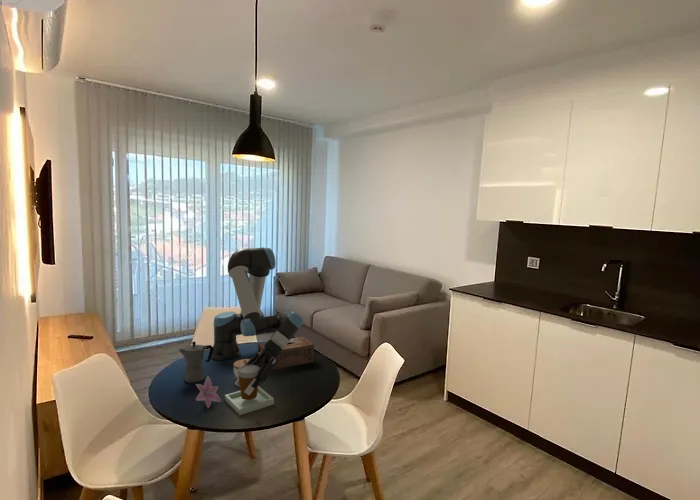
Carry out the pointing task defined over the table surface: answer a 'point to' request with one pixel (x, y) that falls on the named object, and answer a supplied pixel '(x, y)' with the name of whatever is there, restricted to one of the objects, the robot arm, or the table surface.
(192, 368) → the coffeepot
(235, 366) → the lidded jar
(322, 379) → the table surface
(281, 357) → the tissue box cover
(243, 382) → the disposable coffee cup
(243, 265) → the robot arm
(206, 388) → the lily
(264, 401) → the tray
